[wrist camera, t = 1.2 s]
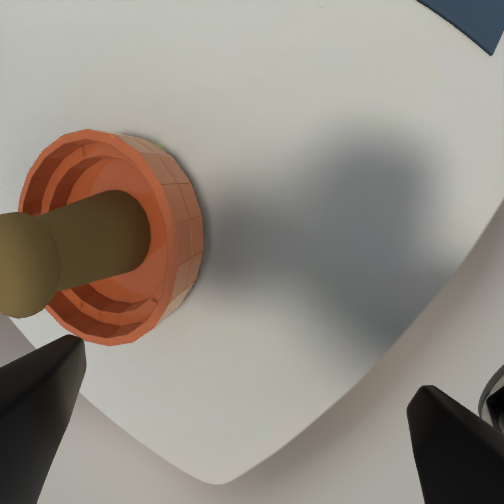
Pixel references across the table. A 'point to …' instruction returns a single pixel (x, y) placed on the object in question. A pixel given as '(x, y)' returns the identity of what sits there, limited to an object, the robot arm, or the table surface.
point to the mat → (473, 19)
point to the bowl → (159, 216)
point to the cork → (69, 249)
